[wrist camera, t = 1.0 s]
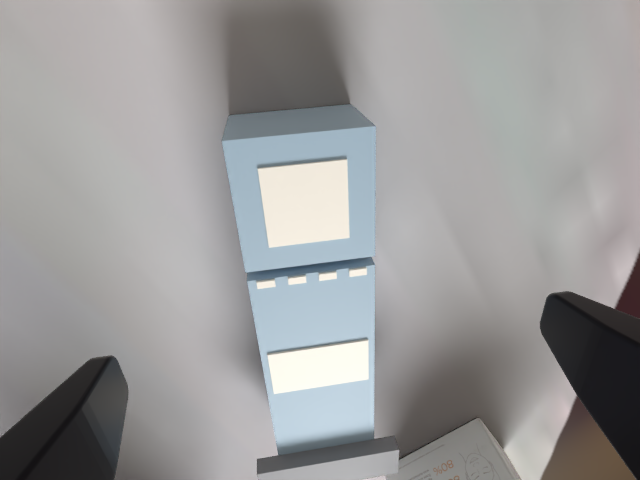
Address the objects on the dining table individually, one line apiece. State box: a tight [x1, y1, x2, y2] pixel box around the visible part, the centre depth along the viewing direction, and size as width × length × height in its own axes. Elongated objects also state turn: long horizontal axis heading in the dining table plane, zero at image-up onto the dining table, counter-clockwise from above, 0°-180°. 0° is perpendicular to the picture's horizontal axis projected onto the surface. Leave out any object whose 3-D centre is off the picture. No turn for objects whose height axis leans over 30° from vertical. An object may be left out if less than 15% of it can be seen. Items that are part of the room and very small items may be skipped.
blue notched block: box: [247, 257, 399, 480], centre depth 20 cm, size 7×13×5 cm, turn 3°
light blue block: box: [222, 104, 376, 273], centre depth 16 cm, size 5×5×4 cm
